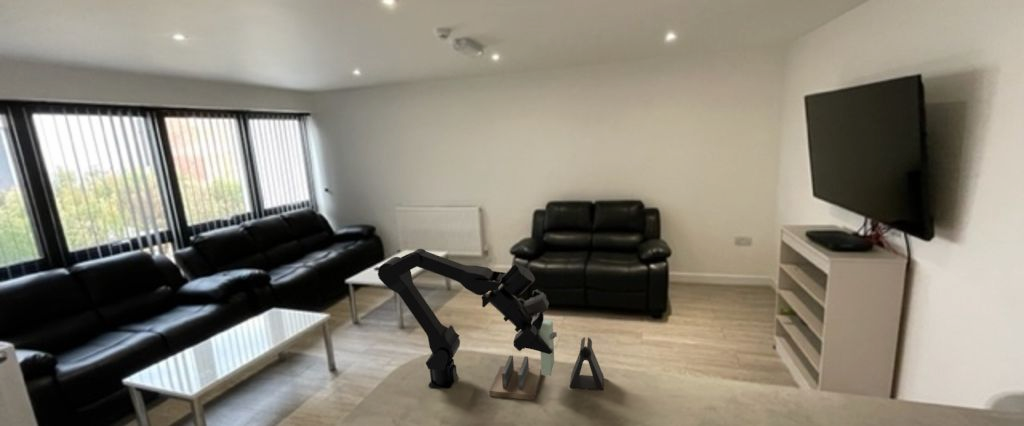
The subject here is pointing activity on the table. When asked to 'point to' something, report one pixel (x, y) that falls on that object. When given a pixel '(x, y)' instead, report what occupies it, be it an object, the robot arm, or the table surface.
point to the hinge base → (516, 381)
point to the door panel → (547, 336)
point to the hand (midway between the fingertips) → (552, 345)
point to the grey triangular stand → (587, 354)
